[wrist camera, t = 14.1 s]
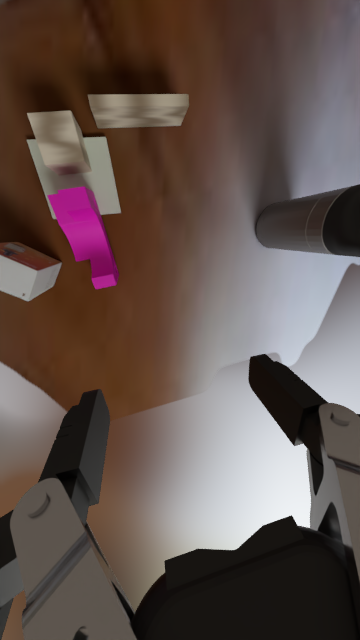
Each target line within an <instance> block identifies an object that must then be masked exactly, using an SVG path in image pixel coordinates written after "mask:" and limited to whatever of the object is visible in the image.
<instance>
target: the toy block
mask: <svg viewBox="0 0 360 640" xmlns="http://www.w3.org/2000/svg"><path fill="white" fill-rule="evenodd" d="M57 191H58V194H52V195H47V196H48V199H49V201H50V204H51V206H52V208H53V211H54V213H55V216H56V218H57V221H58V223H59V225H60V226H61V228H62V229H63V231H64V233H65V235H66V236H67V238H68V240H69V243H70V245H71V247H72V250H73V253H74V256H75V259H76V262H77V261H82V260H87V259H90V261H91V267H92V278H91V279H92V282H93V284H94V287H95V289H100V288H104V287H109V286H114V285H117V281H118V277H119V273H118V270H117V266H116V263H115V260H114V257H113V254H112V250H111V247H110V244H109V241H108V237H107V234H106V231H105V228H104V224H103V221H102V218H101V215H100V212H99V208H98V205H97V202H96V199H95V195H94V192H92V191H91V190H89V189H88V188H86V187H85V186H83V187H76V188H70V189H63V190H57Z"/></svg>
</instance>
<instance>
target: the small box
mask: <svg viewBox="0 0 360 640" xmlns="http://www.w3.org/2000/svg"><path fill="white" fill-rule="evenodd" d="M61 264H62V262H61V261H58V260H56V259H54V258H51V257H49V256H47V255H45V254H43V253H41V252H39V251H36V250H34V249H32V248H30V247H28V246H26V245H24V244H22V243H19V242H6V243H0V291H3V292H5V293H8V294H11V295H13V296H16V297H18V298H21V299H23V300H25V301H30V300H31V299H33V298H35V297H36V296H38V295H40V294H41V293H43V292H44V291H46V290H48V289H49V288H51V287H53V286H54V283H55V281H56V278H57V275H58V273H59V270H60V267H61Z"/></svg>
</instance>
